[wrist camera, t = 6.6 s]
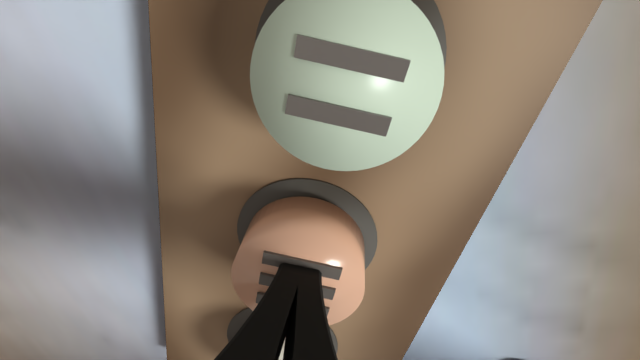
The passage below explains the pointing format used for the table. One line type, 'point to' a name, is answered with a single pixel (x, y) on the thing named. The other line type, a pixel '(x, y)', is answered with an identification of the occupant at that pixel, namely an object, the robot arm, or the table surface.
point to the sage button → (347, 80)
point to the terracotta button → (303, 252)
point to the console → (339, 186)
